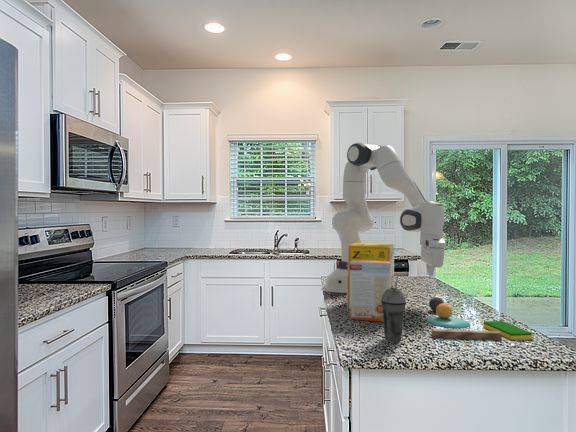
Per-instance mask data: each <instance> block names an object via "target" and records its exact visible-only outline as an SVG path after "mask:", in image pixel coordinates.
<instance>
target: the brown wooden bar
mask: <svg viewBox="0 0 576 432" xmlns="http://www.w3.org/2000/svg"><path fill="white" fill-rule="evenodd" d="M431 336H432V337H433V338H436V339H437V338H439V339H463V340H465V339H467V340H490V341H491V340H492V341H494V340H496V341H503V340H502V337H503V336H502V333H500V332H499V331H491V330H469V329H468V330H467V329H466V330H465V329H463V330H462V329H439V328H438V329H437V328H435V329H434V328H431Z"/></svg>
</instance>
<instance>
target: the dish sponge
mask: <svg viewBox="0 0 576 432" xmlns="http://www.w3.org/2000/svg"><path fill="white" fill-rule="evenodd" d="M482 326H483V328H485V329H486V330H488V331H499V332H500V333H502V337H504V338H507V339H509V340H511V341H517V340H518V341H520V340H521V341H523V340H532V339H533V335H532V334H533V333H532V332H531V331H528V330H526V329H524V328H520V327H518V326H515V325H513V324H510V323H509V322H505V321H504V320H491V321H490V320H489V321H488V320H487V321H483V325H482Z"/></svg>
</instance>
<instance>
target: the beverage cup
mask: <svg viewBox="0 0 576 432" xmlns="http://www.w3.org/2000/svg"><path fill="white" fill-rule="evenodd" d="M395 277H396V278H395V283H394V288H390V289H387V290H386V291H385V292H384V293H383V295H382V300H381V302H382V308H383V320H384V322H383V331H384V332H383V334H384V340H385V341H386V342H389V343H392V344H393V343H395V344H397V343H401V342H402V341H401V340H402V335H403V326H404V325H403V324H404V316H405V315H404V314H405V309H406V304H407V301H406V296H405V295H404V292H402V291H401V290H400V289H399V288H398V287H397V286H398V279H399V273H396V276H395Z"/></svg>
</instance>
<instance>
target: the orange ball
mask: <svg viewBox="0 0 576 432" xmlns="http://www.w3.org/2000/svg"><path fill="white" fill-rule="evenodd" d="M435 313H436V315H437V317H440V318H442V319H448V318H450V317H452V315H453V309H452V307H451V305H449V304H448V303H445V302H444V303H442V304H439V305H438V306H437V308H436V311H435Z"/></svg>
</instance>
